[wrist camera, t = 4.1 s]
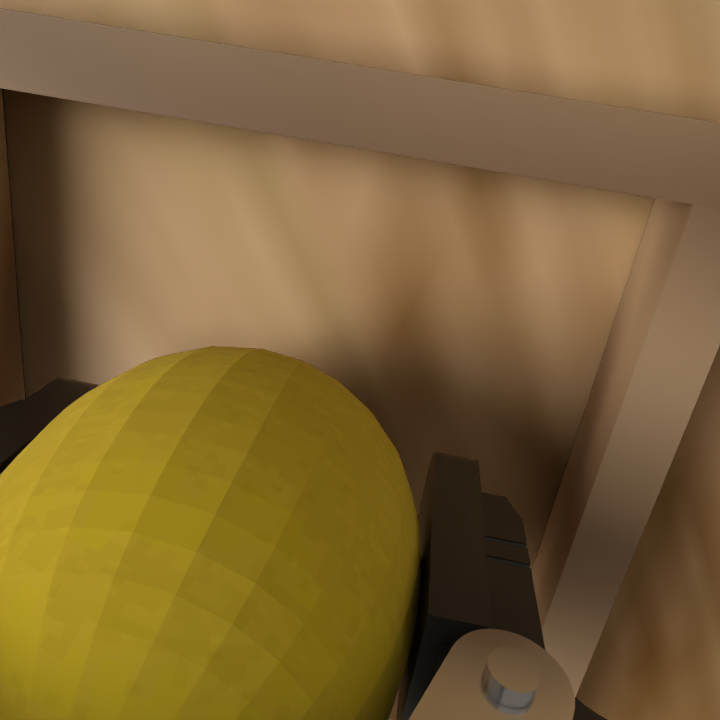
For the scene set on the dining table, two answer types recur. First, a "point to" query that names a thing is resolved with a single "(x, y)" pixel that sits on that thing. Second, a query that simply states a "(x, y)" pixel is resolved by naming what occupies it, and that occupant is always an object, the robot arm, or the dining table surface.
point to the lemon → (208, 550)
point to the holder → (477, 150)
